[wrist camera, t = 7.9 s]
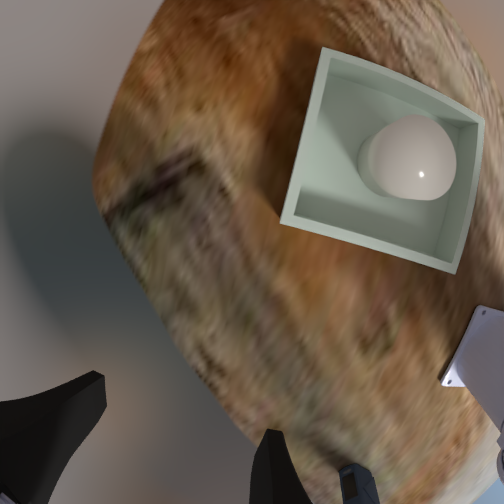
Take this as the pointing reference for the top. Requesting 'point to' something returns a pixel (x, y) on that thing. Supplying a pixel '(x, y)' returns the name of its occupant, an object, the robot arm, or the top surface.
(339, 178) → the bus tub
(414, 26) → the top surface
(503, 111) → the top surface
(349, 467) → the vaping device
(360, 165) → the white rounded cylinder
